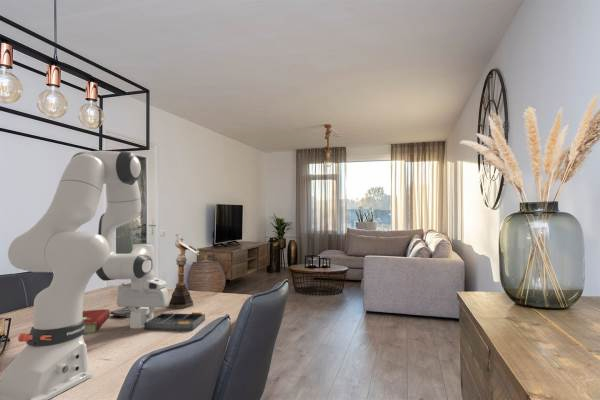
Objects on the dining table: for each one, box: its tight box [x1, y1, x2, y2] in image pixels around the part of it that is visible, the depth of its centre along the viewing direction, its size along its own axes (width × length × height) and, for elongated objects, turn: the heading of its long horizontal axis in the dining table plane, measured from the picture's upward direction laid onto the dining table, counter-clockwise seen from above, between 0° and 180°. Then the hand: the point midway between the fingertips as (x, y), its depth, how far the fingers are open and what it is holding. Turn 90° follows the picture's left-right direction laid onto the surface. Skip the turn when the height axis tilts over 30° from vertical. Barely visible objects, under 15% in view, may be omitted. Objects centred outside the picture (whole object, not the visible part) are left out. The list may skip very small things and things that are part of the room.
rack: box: [143, 311, 206, 332], centre depth 139 cm, size 14×19×3 cm
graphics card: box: [110, 307, 157, 318], centre depth 157 cm, size 17×4×12 cm
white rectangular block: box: [129, 307, 154, 329], centre depth 140 cm, size 10×4×6 cm, turn 175°
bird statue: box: [168, 233, 200, 310], centre depth 171 cm, size 17×13×35 cm
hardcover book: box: [83, 308, 111, 334], centre depth 139 cm, size 12×21×4 cm, turn 17°
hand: (142, 318), depth 140 cm, fingers closed on white rectangular block, 4 cm apart
